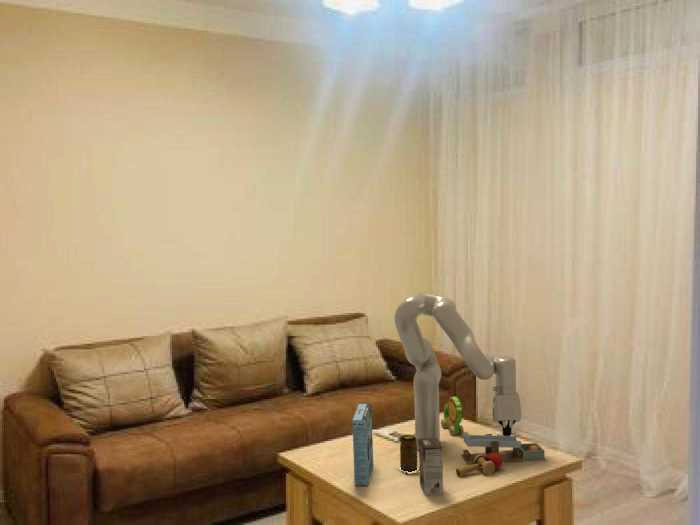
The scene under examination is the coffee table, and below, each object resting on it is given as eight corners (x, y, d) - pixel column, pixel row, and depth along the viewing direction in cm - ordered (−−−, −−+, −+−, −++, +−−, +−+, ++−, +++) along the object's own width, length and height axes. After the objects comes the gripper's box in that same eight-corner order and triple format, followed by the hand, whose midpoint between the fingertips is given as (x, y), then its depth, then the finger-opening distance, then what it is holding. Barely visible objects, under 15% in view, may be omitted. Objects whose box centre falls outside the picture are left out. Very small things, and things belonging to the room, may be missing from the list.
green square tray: (523, 460, 256) (523, 451, 256) (516, 453, 264) (516, 444, 264) (544, 459, 257) (544, 450, 256) (536, 451, 265) (536, 443, 264)
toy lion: (440, 426, 297) (439, 391, 296) (452, 425, 298) (451, 390, 297) (454, 438, 282) (453, 401, 280) (466, 437, 283) (466, 400, 282)
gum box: (368, 486, 236) (366, 420, 234) (353, 486, 237) (351, 420, 235) (373, 464, 256) (372, 403, 254) (359, 464, 256) (358, 403, 254)
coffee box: (419, 484, 237) (418, 438, 236) (437, 483, 237) (437, 437, 236) (424, 495, 228) (423, 447, 226) (443, 494, 228) (443, 446, 227)
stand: (467, 464, 253) (467, 443, 253) (461, 455, 263) (461, 435, 262) (523, 461, 255) (523, 440, 255) (515, 452, 264) (515, 432, 264)
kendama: (466, 485, 239) (509, 468, 246) (462, 466, 239) (505, 451, 246) (454, 481, 246) (496, 465, 253) (450, 463, 246) (492, 448, 253)
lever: (467, 446, 254) (468, 437, 254) (459, 435, 267) (459, 426, 266) (521, 448, 256) (521, 438, 256) (510, 436, 269) (510, 427, 268)
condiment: (412, 464, 256) (411, 432, 254) (424, 471, 248) (424, 439, 247) (395, 467, 252) (394, 435, 251) (407, 475, 245) (406, 442, 244)
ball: (528, 451, 258) (536, 445, 258) (525, 448, 262) (532, 441, 262) (534, 458, 259) (541, 451, 259) (531, 454, 262) (538, 448, 262)
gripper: (489, 393, 259) (490, 441, 261) (528, 390, 260) (529, 438, 262) (483, 388, 267) (485, 435, 268) (521, 385, 268) (522, 432, 269)
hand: (507, 436), depth 265 cm, fingers closed
